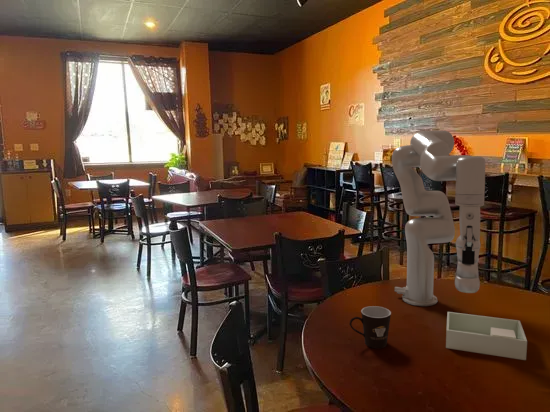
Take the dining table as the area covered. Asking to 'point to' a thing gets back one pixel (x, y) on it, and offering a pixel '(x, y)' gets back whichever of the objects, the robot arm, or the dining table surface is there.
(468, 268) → the plastic bottle
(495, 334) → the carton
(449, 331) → the crate
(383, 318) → the coffee mug
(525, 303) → the dining table surface
